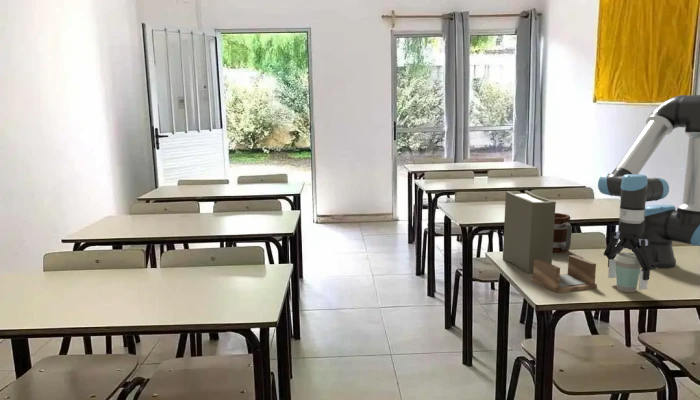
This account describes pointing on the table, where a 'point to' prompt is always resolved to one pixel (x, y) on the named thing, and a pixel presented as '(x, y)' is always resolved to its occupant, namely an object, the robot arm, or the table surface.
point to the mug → (562, 233)
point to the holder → (565, 275)
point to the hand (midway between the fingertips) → (626, 283)
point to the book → (528, 230)
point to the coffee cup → (627, 271)
